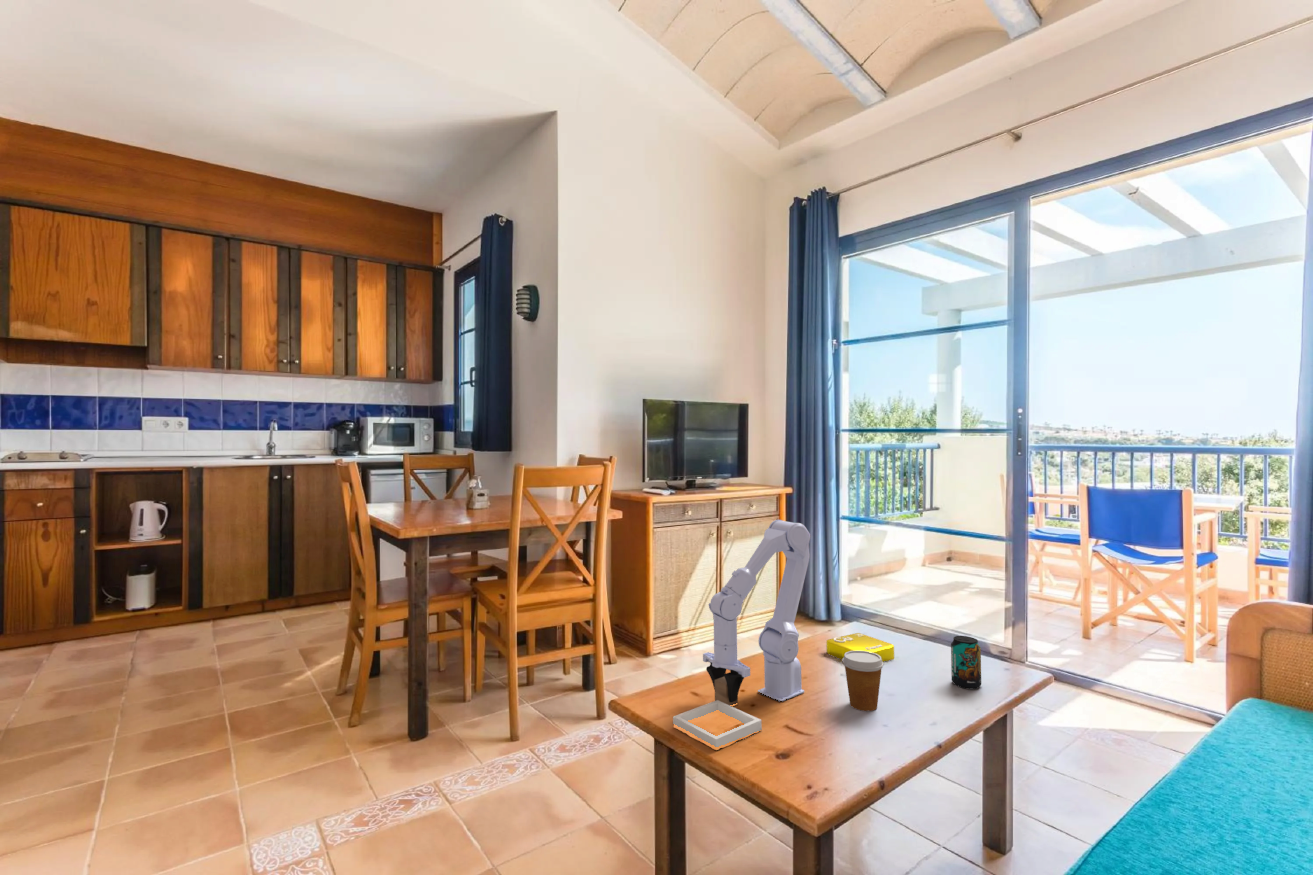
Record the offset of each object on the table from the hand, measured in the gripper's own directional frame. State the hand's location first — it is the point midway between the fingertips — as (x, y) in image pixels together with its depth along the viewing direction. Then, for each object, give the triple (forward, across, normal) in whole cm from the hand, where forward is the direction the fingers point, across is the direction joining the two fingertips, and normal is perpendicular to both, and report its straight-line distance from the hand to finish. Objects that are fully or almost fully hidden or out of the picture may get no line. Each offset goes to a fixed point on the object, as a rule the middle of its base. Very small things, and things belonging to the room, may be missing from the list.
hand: (726, 697), depth 149 cm
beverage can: (+2, +32, +57) cm, 65 cm away
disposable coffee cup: (+2, +22, +25) cm, 33 cm away
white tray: (+2, +8, -11) cm, 14 cm away
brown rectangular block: (+2, 0, 0) cm, 2 cm away
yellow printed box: (+2, +1, +56) cm, 56 cm away
